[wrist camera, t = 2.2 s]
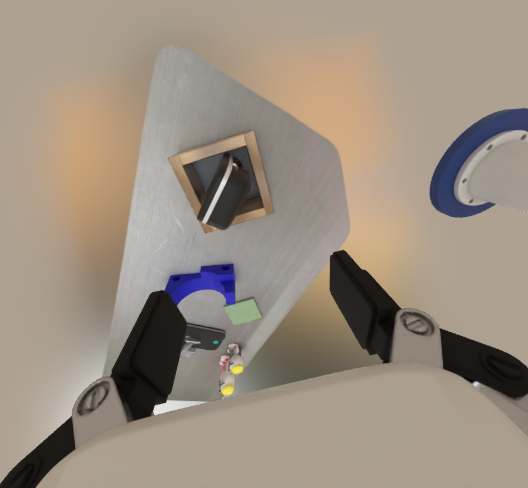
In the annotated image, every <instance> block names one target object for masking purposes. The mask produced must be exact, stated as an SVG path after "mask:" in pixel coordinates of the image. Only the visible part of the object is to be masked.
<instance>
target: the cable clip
mask: <svg viewBox="0 0 528 488" xmlns="http://www.w3.org/2000/svg"><path fill="white" fill-rule="evenodd" d="M204 289H211V290H216V291H218V292H220V293H222V294H223V295H224V297H225V298H226V303H227V305H232V304H235V275H234V267H233V264H227V265H215V266H204V267H201V271H200V273H194V274H183V275H172V276H170V279H169V281H168V283H167V286H166V288H165V290H164V291H165V292H168V293H169V295H170V297H171V298H172V300H173V301H174V303H175V304H176V306H177V305H178V304H179V302H180V301H181V300H182V299H183V298H185V297H186V296H187V295H189V294H191V293H193V292H196V291H199V290H204Z"/></svg>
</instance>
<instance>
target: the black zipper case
mask: <svg viewBox="0 0 528 488" xmlns="http://www.w3.org/2000/svg"><path fill="white" fill-rule="evenodd" d="M250 186H251V181H250V176H249V174H248V172H247V171H246V170H245V169H243V167H242V164H241V163H240V161H239V160H237V159H236V158H235V157H233V155H231V154H228V153H225V154H224V156H223V158H222V161H221V163H220V165H219V167H218V169H217V172H216V174H215V176H214V178H213V180H212V182H211V185H210V187H209V189H208V191H207V194H206V196H205V198H204V201H203V203H202V205H201V208H200V210H199V213H198V215H197V219H198V220H199V221H201V222H202V223H203V224H208V225H210V226H213V227H215V228H217V229H220V230H225V229H227V228H228V227H229V226H230V225H231V224H232V222H233V220H234V218H235V216H236V215H237V213H238V211H239V209H240V207H241V206H242V204H243V202H244V200H245V198H246V197H247V195H248V193H249V191H250Z"/></svg>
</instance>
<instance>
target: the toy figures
mask: <svg viewBox="0 0 528 488" xmlns="http://www.w3.org/2000/svg"><path fill="white" fill-rule="evenodd" d="M227 352H228V353H229V356H226V355H223V356H221V361H220V362H219V363H220V365H221V366H222V367H223V369H222V375H221V378H220V384H219V392H220V391H222V393H223V394H224V395H230V394H232V393H233V391H234V381H235V380H234V375H233V373H234V374H238V373H241V372H242V371H243V364H244V362H243V358H242V357H241V349H240V348H238V345H237V344H234V343H232V344H229V349H227ZM231 353H233V354H232V357H231ZM230 357H231V358H230ZM223 371H224V372H223Z"/></svg>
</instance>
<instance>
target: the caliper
mask: <svg viewBox="0 0 528 488" xmlns="http://www.w3.org/2000/svg"><path fill="white" fill-rule="evenodd" d="M185 341H186V342H188V343H189V345H188V346H187V344H188V343H186V344H185V345H184V346H183V347H182V349H181V354H180V357H184V358H188V357H190V356H192V355H193V354H195V348H192V347H191V346H192V345H193V344H192V343H194V344H198V343H200V340H197V339H193V338H190V337H189V336H186V339H185ZM190 342H192V343H190ZM186 346H187V347H186Z"/></svg>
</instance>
